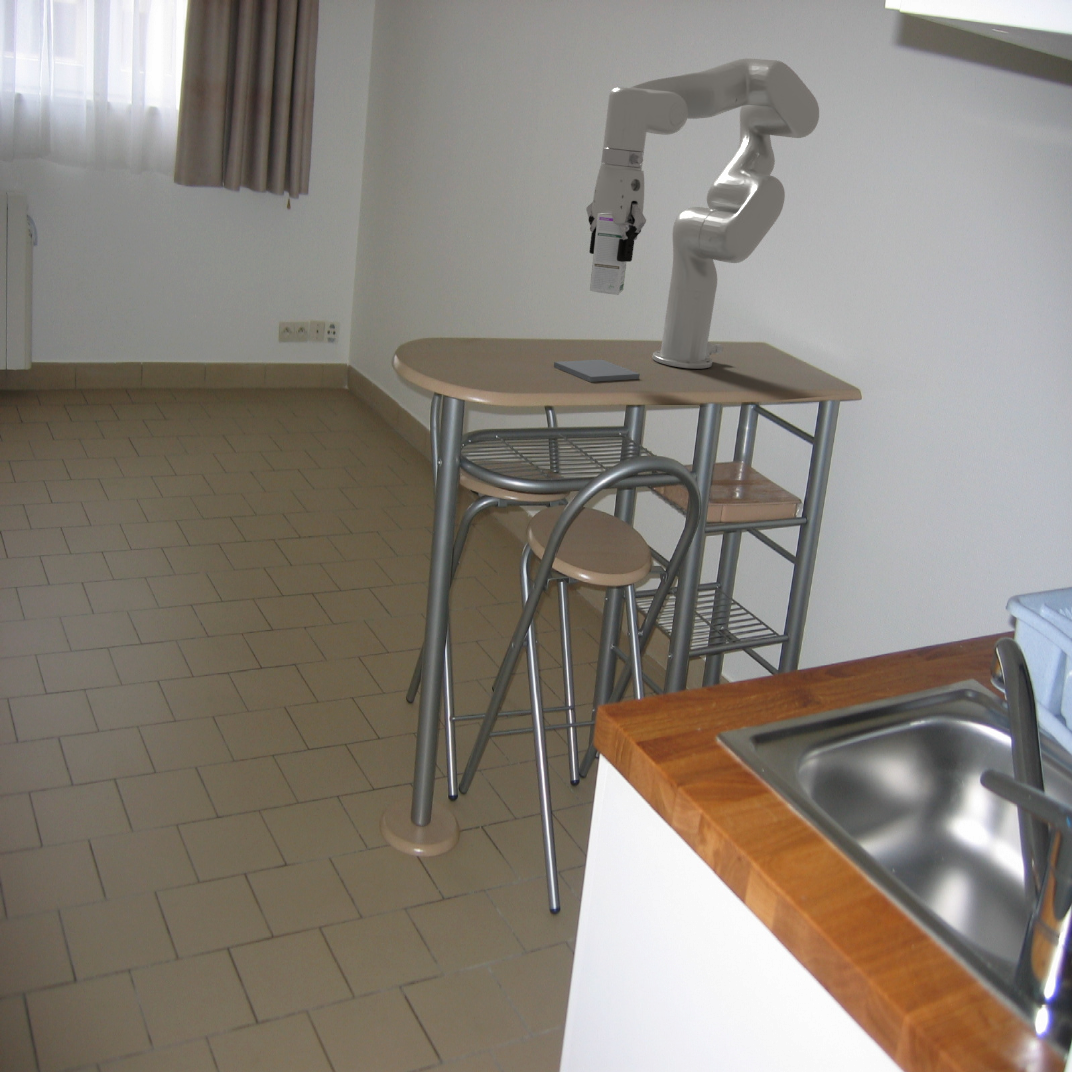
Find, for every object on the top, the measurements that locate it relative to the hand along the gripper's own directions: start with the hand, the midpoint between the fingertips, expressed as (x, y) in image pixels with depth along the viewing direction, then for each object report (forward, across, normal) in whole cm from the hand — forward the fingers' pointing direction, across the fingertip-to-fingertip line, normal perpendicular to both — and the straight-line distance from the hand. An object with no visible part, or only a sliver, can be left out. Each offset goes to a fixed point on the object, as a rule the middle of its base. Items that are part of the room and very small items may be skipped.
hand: (610, 256), depth 214 cm
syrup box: (+7, 0, 0) cm, 7 cm away
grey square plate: (+22, 0, 0) cm, 22 cm away
